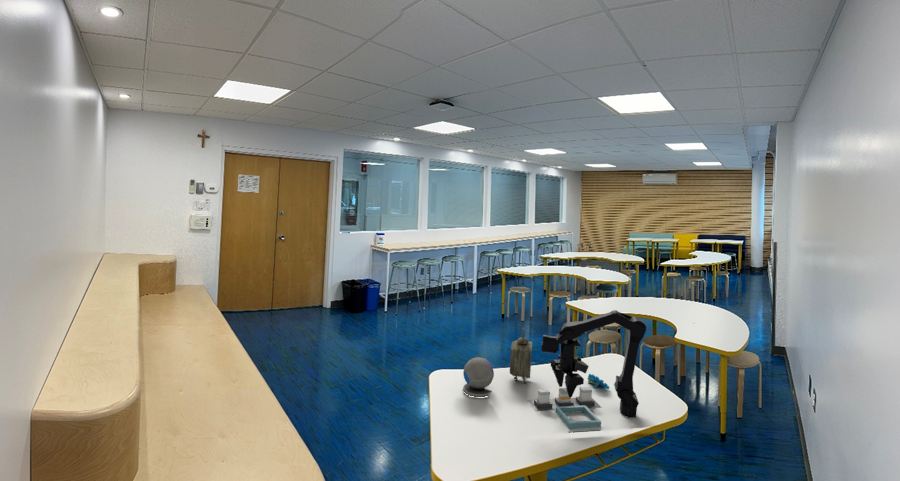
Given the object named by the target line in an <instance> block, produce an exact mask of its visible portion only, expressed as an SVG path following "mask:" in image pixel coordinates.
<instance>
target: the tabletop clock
mask: <svg viewBox="0 0 900 481" xmlns="http://www.w3.org/2000/svg"><path fill="white" fill-rule="evenodd" d="M521 332H522V333H521V337H518V339H517V340H514V341H511V347H510V358H509V374H510V375H512V376H513V380H514V379H517V380H518V377H520V378H521V379H522V381H523V382H524V383H523V384H525V385H527V384H528V382H526V378H528V379H530V378H531V370H532V368H531V367H532V366H531V365H532V354H533V353H532V352H533V351H532V350H533V341H529V340H528V338H526V337H525V327H522V331H521Z"/></svg>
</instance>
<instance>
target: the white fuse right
mask: <svg viewBox="0 0 900 481" xmlns="http://www.w3.org/2000/svg"><path fill="white" fill-rule="evenodd" d="M578 393H579V394H578V397H579V399H580V400H581V401H591V397H592V394H593V388H591V387H590V386H582V387H579V392H578ZM592 398H593V397H592Z"/></svg>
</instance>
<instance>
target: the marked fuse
mask: <svg viewBox="0 0 900 481" xmlns="http://www.w3.org/2000/svg"><path fill="white" fill-rule="evenodd" d="M557 398H558V400H559V401H560V402H561V403H562V402H570V401H571V398H572V397H569V396H568V393H567V389H566V387H560V388H558V397H557Z"/></svg>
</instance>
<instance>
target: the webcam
mask: <svg viewBox="0 0 900 481" xmlns="http://www.w3.org/2000/svg"><path fill="white" fill-rule="evenodd" d="M494 372H495V371H494V368H493V365H492V364H491V362H490V361H489V360H488V359H486V358H483V357H478V356H476V357H473V358H471V359H469V360H468V361H467V362H466V363H465V365H464V367H463V373H462V374H463V378H464V381H465V382H466V383H465V384H464V385H463V387H462V392H463V391H464V392H465V393H466V394H468V395H470V396H474V397H485V396H489V395H490V394H491V393H493V390H490V389H486V388H487V387H489V386H490V384H492V382H493V380H494V376H495V373H494Z"/></svg>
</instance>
